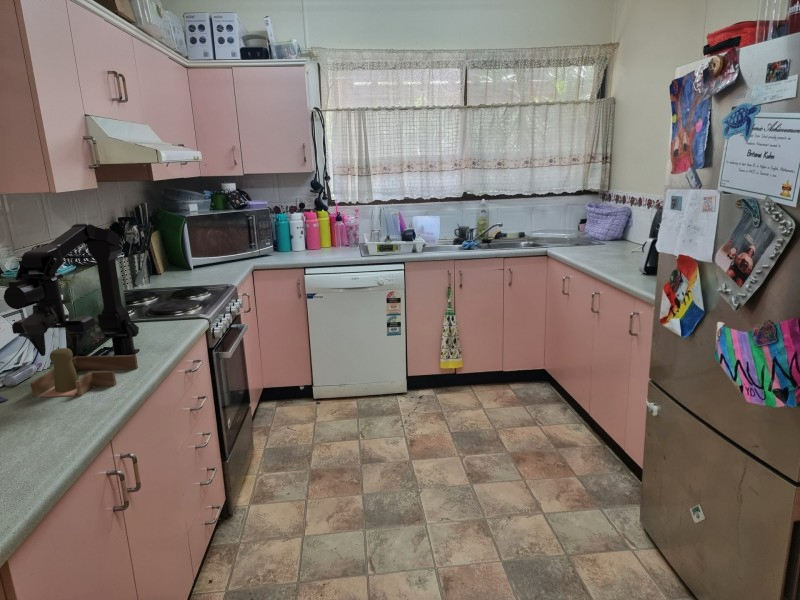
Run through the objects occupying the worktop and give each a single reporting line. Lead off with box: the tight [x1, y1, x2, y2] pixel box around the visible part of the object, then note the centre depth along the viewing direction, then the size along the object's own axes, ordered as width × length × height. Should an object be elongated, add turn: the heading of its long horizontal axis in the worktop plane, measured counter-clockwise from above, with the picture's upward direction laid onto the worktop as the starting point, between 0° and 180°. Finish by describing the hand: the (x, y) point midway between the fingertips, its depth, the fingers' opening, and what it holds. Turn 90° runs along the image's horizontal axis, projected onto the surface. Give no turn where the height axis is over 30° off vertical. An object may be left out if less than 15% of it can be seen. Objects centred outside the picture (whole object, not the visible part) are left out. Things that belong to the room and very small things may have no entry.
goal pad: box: [39, 386, 78, 398], centre depth 143 cm, size 9×9×1 cm
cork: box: [49, 347, 80, 392], centre depth 141 cm, size 6×6×11 cm
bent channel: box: [29, 354, 139, 398], centre depth 147 cm, size 19×18×4 cm
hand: (60, 355), depth 140 cm, fingers open, 9 cm apart
